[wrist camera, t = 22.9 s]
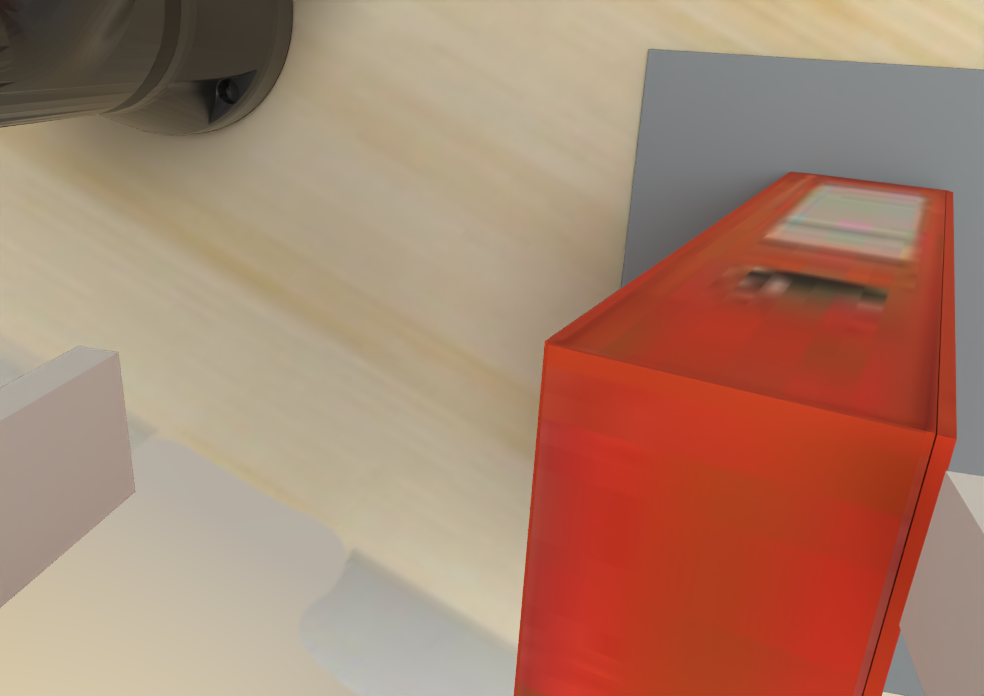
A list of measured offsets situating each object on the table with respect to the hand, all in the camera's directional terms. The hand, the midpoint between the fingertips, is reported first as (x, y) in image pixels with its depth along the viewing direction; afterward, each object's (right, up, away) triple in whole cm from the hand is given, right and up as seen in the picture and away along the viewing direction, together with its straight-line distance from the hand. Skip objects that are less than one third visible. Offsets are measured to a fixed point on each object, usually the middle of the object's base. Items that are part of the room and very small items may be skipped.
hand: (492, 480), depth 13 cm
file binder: (+19, +3, +32) cm, 38 cm away
